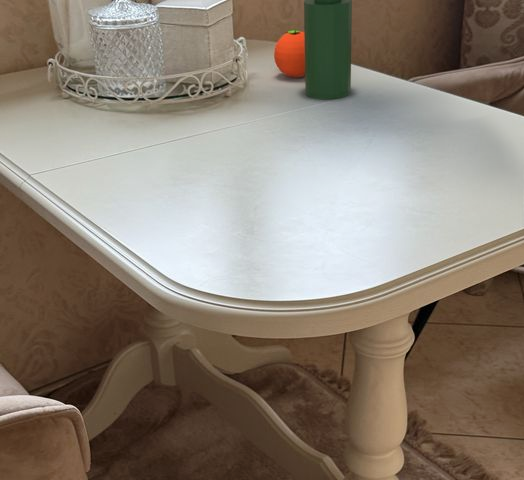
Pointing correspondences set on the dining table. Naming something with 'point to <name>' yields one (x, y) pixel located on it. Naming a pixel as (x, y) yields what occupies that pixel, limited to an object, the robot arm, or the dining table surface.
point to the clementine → (291, 53)
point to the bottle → (327, 48)
